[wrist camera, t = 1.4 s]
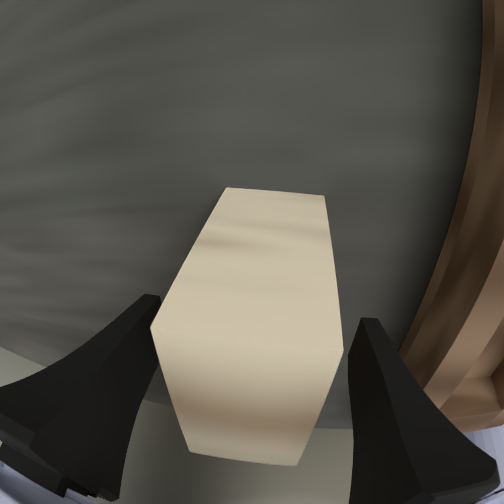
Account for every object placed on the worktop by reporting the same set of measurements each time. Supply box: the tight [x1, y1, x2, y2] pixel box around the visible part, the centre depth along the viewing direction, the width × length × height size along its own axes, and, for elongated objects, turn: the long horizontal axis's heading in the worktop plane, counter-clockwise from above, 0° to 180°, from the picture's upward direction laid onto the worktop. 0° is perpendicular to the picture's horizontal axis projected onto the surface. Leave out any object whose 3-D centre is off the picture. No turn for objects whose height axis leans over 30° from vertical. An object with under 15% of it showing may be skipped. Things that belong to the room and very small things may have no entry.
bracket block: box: [150, 188, 343, 466], centre depth 11 cm, size 7×4×8 cm, turn 178°
